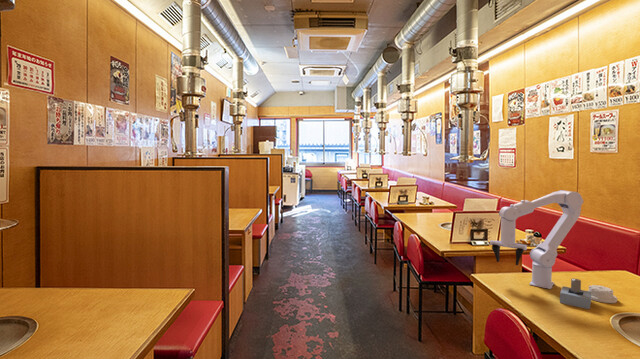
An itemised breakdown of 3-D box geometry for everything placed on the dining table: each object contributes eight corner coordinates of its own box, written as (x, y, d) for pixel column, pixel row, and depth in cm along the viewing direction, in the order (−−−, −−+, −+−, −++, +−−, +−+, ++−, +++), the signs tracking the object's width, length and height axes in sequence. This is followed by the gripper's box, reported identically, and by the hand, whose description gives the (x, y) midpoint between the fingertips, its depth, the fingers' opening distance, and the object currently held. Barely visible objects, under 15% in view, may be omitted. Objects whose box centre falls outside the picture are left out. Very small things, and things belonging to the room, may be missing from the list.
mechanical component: (585, 291, 138) (583, 299, 131) (585, 281, 138) (583, 288, 131) (617, 298, 131) (617, 306, 124) (617, 287, 131) (617, 295, 124)
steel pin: (571, 300, 129) (571, 277, 129) (580, 302, 127) (581, 279, 127) (569, 302, 127) (570, 279, 127) (579, 304, 125) (580, 281, 125)
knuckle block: (562, 295, 134) (562, 286, 134) (591, 301, 128) (591, 291, 128) (559, 302, 127) (560, 292, 127) (589, 309, 121) (590, 299, 121)
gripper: (487, 232, 149) (487, 261, 149) (524, 237, 139) (524, 268, 140) (492, 230, 154) (491, 258, 155) (528, 234, 144) (527, 264, 145)
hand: (507, 263), depth 147 cm, fingers open, 7 cm apart
